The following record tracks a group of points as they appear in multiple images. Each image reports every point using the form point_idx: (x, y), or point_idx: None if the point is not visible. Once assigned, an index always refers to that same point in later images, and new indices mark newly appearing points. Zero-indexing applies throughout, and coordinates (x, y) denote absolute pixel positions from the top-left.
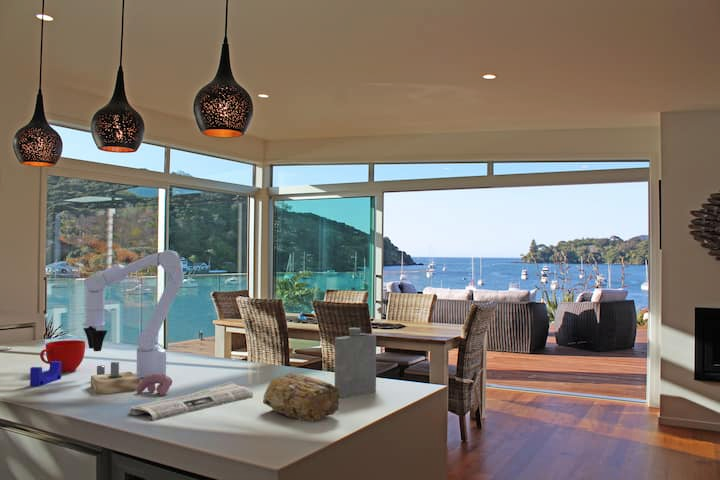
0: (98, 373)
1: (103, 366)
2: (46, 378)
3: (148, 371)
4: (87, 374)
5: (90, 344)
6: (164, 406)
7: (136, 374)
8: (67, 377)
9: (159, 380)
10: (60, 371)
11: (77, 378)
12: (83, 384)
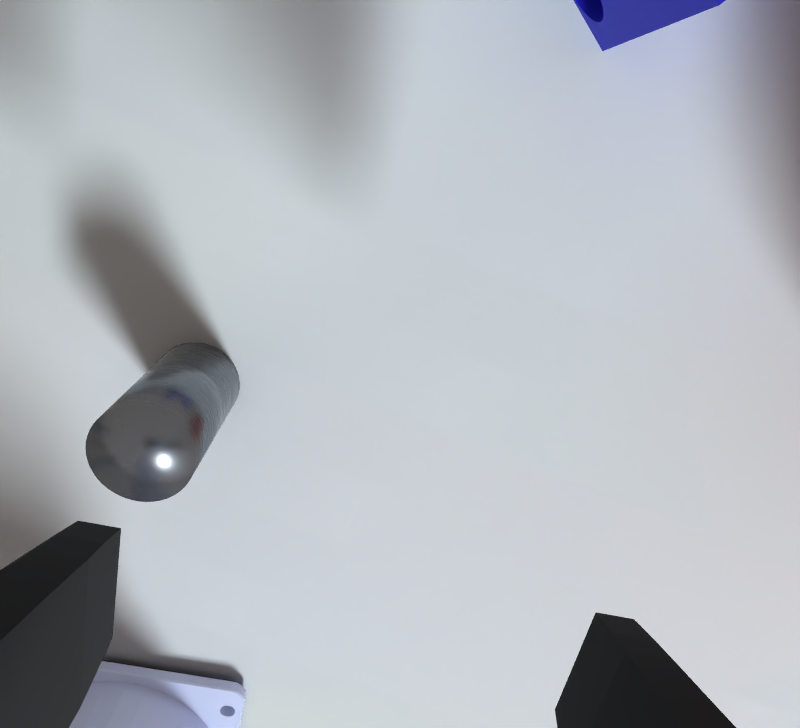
0: (144, 376)
1: (93, 470)
2: None
3: None
4: (607, 400)
5: (623, 700)
6: None
7: (143, 685)
8: (623, 154)
9: None
10: (630, 17)
11: (463, 221)
12: (32, 117)
